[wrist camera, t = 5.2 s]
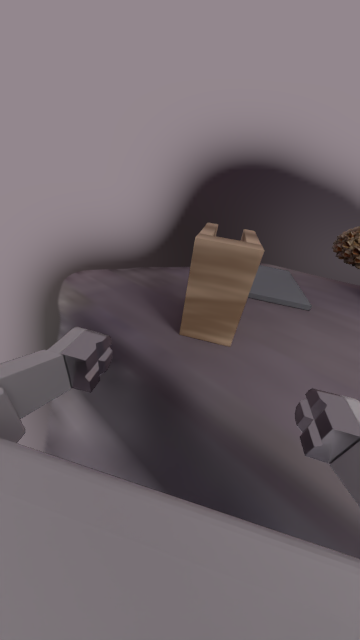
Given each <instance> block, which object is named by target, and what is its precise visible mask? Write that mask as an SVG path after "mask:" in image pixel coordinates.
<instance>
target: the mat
mask: <svg viewBox="0 0 360 640" xmlns="http://www.w3.org/2000/svg"><path fill="white" fill-rule="evenodd" d="M248 297H249V298H254V299H258V300H263V301H267V302H272V303H277V304H281V305H286V306H291V307H295V308H300V309H305V310H310V308H311V307H312V305H311V304H310V302H309V301H308V299H307V298H306V296H305V295H304V293H303V292H302V290H301V289H300V287H299V286H298V284H297V283H296V281H295V280H294V278H293V277H292V275H291V274H290V272H289V271H287V270H281V269H276V268H271V267H266V266H261V265H259V267H258V270H257V273H256V276H255V278H254V281H253V284H252V287H251V290H250V292H249V295H248Z"/></svg>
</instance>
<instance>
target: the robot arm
mask: <svg viewBox="0 0 360 640" xmlns="http://www.w3.org/2000/svg"><path fill="white" fill-rule="evenodd" d="M111 344H112V339H111V337H110V336H108V335H105V334H101V333H98V332H94V331H91V330H86V329H83V328H80V327H75V328H73V329H72V330H70V331H69V332H68V333H67V334H66V335H64V336H63V337H62V338H61V339H60V340H59V341H57V342H56V343H55V344H54V345H53V346H51V347H50V349H48V350H41V351H37V352H34V353H31V354H29V355H25V356H22V357H19V358H16V359H13V360H10V361H7V362H4V363H1V364H0V640H360V559H358V558H355V557H352V556H349V555H346V554H343V553H340V552H337V551H334V550H331V549H328V548H326V547H323V546H320V545H317V544H314V543H311V542H308V541H305V540H302V539H299V538H296V537H293V536H290V535H287V534H284V533H281V532H278V531H275V530H272V529H269V528H266V527H263V526H260V525H257V524H254V523H251V522H248V521H246V520H243V519H240V518H237V517H234V516H231V515H228V514H225V513H222V512H219V511H216V510H213V509H210V508H207V507H204V506H201V505H198V504H195V503H192V502H189V501H186V500H183V499H180V498H177V497H174V496H171V495H168V494H166V493H163V492H160V491H157V490H154V489H151V488H148V487H145V486H142V485H139V484H136V483H133V482H130V481H127V480H124V479H121V478H118V477H115V476H112V475H109V474H106V473H103V472H100V471H97V470H94V469H91V468H88V467H85V466H83V465H80V464H77V463H74V462H71V461H68V460H65V459H62V458H59V457H56V456H53V455H50V454H47V453H44V452H41V451H38V450H35V449H32V448H29V447H26V446H23V445H20V444H17V442H18V441H19V440H20V439H21V438H22V436H23V435H24V434H25V428H24V426H23V424H22V422H21V420H20V419H21V418H23V417H25V416H26V415H28V414H30V413H31V412H33V411H35V410H36V409H38V408H40V407H41V406H43V405H45V404H46V403H48V402H50V401H52V400H53V399H55V398H57V397H58V396H60V395H62V394H63V393H65V392H67V391H68V390H70V389H71V388H75V389H78V390H82V391H86V392H90V393H91V392H92V391H93V389H94V388H95V386H96V385H97V384H98V382H99V381H100V375H101V374H103V373H105V372H106V371H107V369H108V368H109V366H110V364H111V361H112V356H113V352H112V350H111V349H110V347H109V346H110V345H111ZM305 395H306V398H307V399H305V400H302V401H300V402H299V403H298V405H297V406H296V410H295V421H296V425H297V426H298V428H299V429H300V430H301V431H302V434H301V436H300V440H301V443H302V447H303V451H304V454H305V456H307V457H310V458H313V459H316V460H319V461H323V462H326V463H329V464H330V466H331V468H332V469H333V471H334V472H335V473H336V475H337V476H338V478H339V479H340V480H341V482H342V483H343V485H344V486H345V487H346V489H347V490H348V492H349V493H350V494H351V496H352V497H353V499H354V500H355V501H356V503H357V504H358V506H359V507H360V402H359V401H358V400H357V399H354V398H350V397H346V396H340V395H337V394H333V393H329V392H325V391H321V390H317V389H313V388H312V389H310V390H308V392H307V393H306V394H305Z"/></svg>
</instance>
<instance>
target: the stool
mask: <svg viewBox="0 0 360 640" xmlns="http://www.w3.org/2000/svg"><path fill="white" fill-rule="evenodd" d="M217 227H218V225H217V224H212V223H207V224H206V226H205V227H204V228H203V230H202V231H201V232H200V233H199V234H198V235H197V236H196V238H195V243H194V249H193V255H192V261H191V267H190V273H189V279H188V285H187V291H186V297H185V303H184V309H183V315H182V322H181V328H180V335H184V336H188V337H192V338H196V339H200V340H204V341H208V342H212V343H216V344H220V345H224V346H229V347H230V346H231V343H232V340H233V337H234V335H235V332H236V329H237V326H238V323H239V320H240V318H241V315H242V312H243V309H244V306H245V304H246V301H247V298H248V295H249V292H250V290H251V287H252V284H253V281H254V278H255V276H256V273H257V270H258V267H259V264H260V262H261V259H262V256H263V253H264V249H263V247H262V245H261V244H260V242H259V240H258V238H257V236H256V233H255V231H251V230H245V229H244V231H243V234H242V238H241V241H238V240H232V239H227V238H221V237H216V231H217Z"/></svg>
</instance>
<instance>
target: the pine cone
mask: <svg viewBox="0 0 360 640" xmlns="http://www.w3.org/2000/svg"><path fill="white" fill-rule="evenodd" d="M333 244H334V245H333V246H332V248H333V251H334V252H336V253H337V255H336V257H339V259H344V263H346V264H352V266H355V267H356V268H358V269H360V226H359V227H355V228H354V229H353V230H352V229H349V230H348V231H347V232H343V234H341V235H339V236H337V241H335V242H334V243H333Z"/></svg>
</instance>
